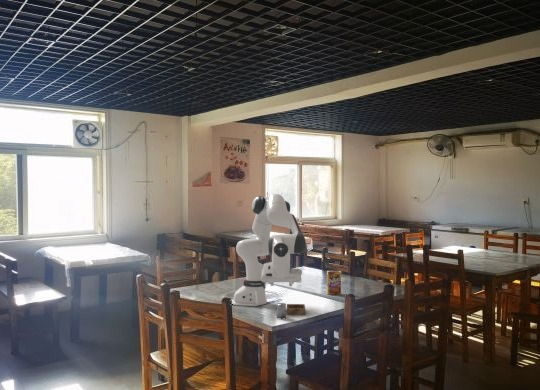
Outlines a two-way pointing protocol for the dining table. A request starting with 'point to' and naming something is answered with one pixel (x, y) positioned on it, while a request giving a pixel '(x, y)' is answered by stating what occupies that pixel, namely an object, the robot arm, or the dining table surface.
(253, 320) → the dining table surface
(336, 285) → the candy box
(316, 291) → the dining table surface
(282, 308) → the steel socket
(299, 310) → the brown wooden square box
